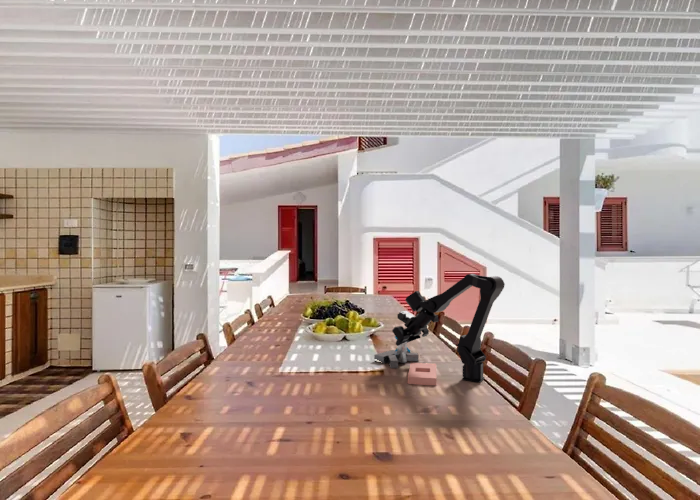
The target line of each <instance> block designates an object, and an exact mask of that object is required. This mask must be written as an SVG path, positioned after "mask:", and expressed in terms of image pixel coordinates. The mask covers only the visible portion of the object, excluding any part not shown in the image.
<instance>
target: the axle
mask: <svg viewBox="0 0 700 500" xmlns="http://www.w3.org/2000/svg"><path fill="white" fill-rule="evenodd" d="M407 347H408V343H407V342H405V343H403V344H400V345H398V346H397V345H396V348H397V359H398V363H408V362H407V353H408V351H407Z"/></svg>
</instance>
